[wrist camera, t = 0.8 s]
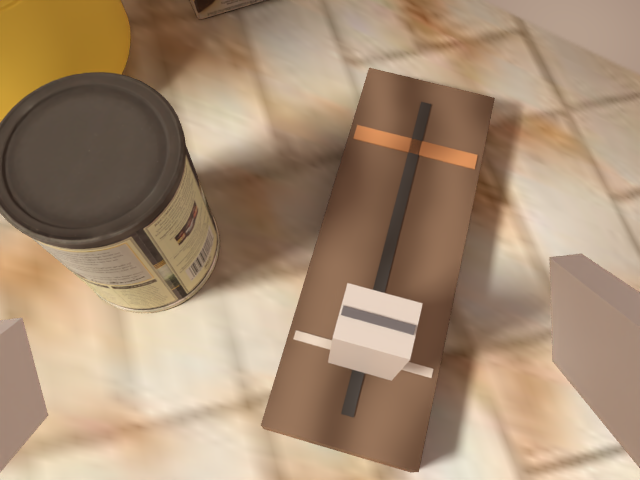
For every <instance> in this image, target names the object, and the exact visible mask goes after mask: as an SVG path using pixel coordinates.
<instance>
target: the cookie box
mask: <svg viewBox="0 0 640 480" xmlns="http://www.w3.org/2000/svg"><path fill="white" fill-rule="evenodd" d="M262 1H265V0H190V2H191V5H192V7H193V9H194V11H195V14H196V16H197V18H198V19H204V18H207V17H211V16H214V15H217V14H221V13H224V12H227V11H231V10H234V9H238V8H241V7H245V6H248V5H251V4H255V3H258V2H262Z"/></svg>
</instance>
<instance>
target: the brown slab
mask: <svg viewBox="0 0 640 480" xmlns="http://www.w3.org/2000/svg"><path fill="white" fill-rule="evenodd" d="M494 99H495V98H492V97H488V96H484V95H480V94H476V93H472V92H468V91H463V90H459V89H455V88H451V87H447V86H443V85H439V84H435V83H430V82H426V81H422V80H418V79H414V78H410V77H406V76H401V75H397V74H393V73H389V72H385V71H381V70H377V69H373V68H369V70H368V73H367V77H366V80H365V83H364V87H363V90H362V93H361V97H360V100H359V103H358V106H357V110H356V113H355V116H354V120H353V123H352V126H351V130H350V133H349V136H348V139H347V143H346V146H345V149H344V153H343V156H342V159H341V163H340V166H339V169H338V172H337V176H336V179H335V182H334V186H333V189H332V192H331V196H330V199H329V202H328V205H327V209H326V212H325V215H324V219H323V222H322V225H321V229H320V232H319V235H318V239H317V242H316V245H315V248H314V252H313V255H312V258H311V262H310V265H309V268H308V272H307V275H306V278H305V281H304V285H303V288H302V291H301V295H300V298H299V301H298V305H297V308H296V311H295V314H294V318H293V321H292V324H291V328H290V331H289V334H288V338H287V341H286V344H285V347H284V351H283V354H282V357H281V361H280V364H279V367H278V371H277V374H276V377H275V380H274V384H273V387H272V390H271V394H270V397H269V400H268V404H267V407H266V410H265V414H264V417H263V420H262V423H261V426H262V427H263V428H264V429H266V430H269V431H273V432H276V433H280V434H283V435H286V436H290V437H293V438H296V439H300V440H303V441H307V442H310V443H313V444H317V445H320V446H323V447H327V448H330V449H334V450H337V451H340V452H344V453H347V454H350V455H354V456H357V457H361V458H364V459H367V460H371V461H374V462H378V463H381V464H384V465H388V466H391V467H394V468H398V469H401V470H405V471H408V472H419V468H420V463H421V458H422V453H423V448H424V443H425V438H426V433H427V428H428V423H429V418H430V413H431V409H432V404H433V399H434V394H435V389H436V384H437V379H438V374H439V369H440V364H441V359H442V354H443V349H444V345H445V340H446V335H447V330H448V325H449V320H450V315H451V310H452V305H453V300H454V295H455V290H456V286H457V281H458V276H459V271H460V266H461V261H462V256H463V251H464V246H465V241H466V236H467V231H468V226H469V222H470V217H471V212H472V207H473V202H474V197H475V192H476V187H477V182H478V177H479V172H480V167H481V163H482V158H483V153H484V148H485V143H486V138H487V133H488V128H489V123H490V118H491V113H492V108H493V103H494ZM347 283H349V284H353V285H357V286H360V287H364V288H368V289H371V290H375V291H379V292H382V293H386V294H390V295H393V296H397V297H401V298H404V299H408V300H412V301H415V302H419V303H423V304H422V309H421V313H420V318H419V322H418V327H417V331H416V336H415V340H414V345H413V349H412V354H411V358H410V360H409V362H408V363H407V364H406V365H405V366H404V367H403V368H402V369H401V371H400V372H399V373H398V374H397V375H396V376H395V377H394V379H393V380H392V381H391V380H387V379H384V378H380V377H377V376H373V375H370V374H366V373H363V372H359V371H356V370H352V369H349V368H345V367H342V366H338V365H335V364H331V363H328V359H329V354H330V349H331V343H332V338H333V334H334V331H335V327H336V323H337V320H338V316H339V312H340V309H341V305H342V301H343V298H344V294H345V291H346V287H347Z"/></svg>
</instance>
